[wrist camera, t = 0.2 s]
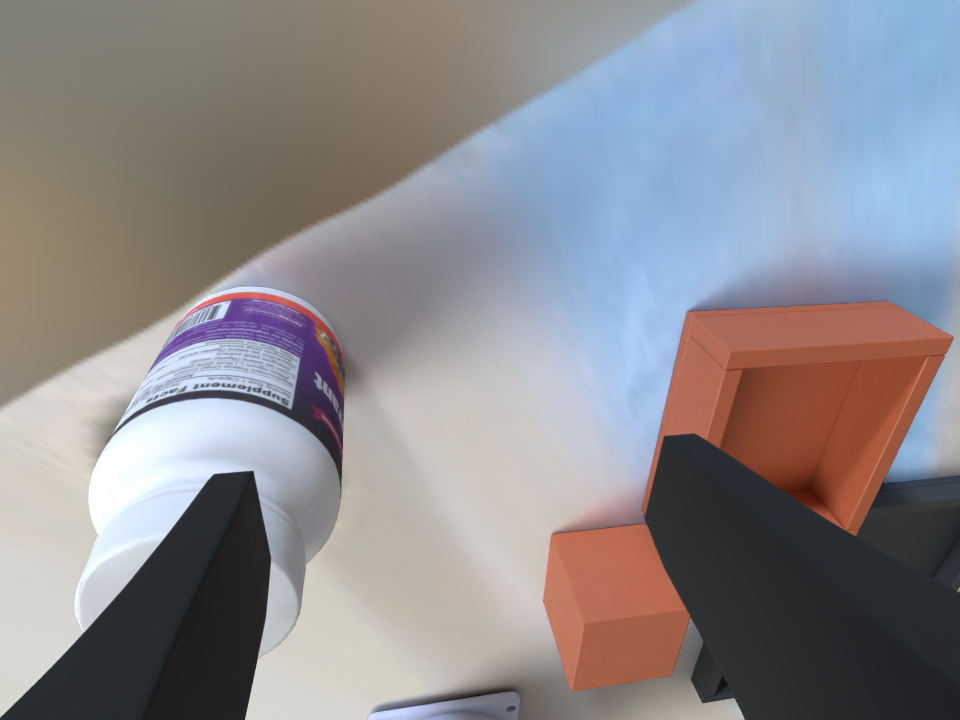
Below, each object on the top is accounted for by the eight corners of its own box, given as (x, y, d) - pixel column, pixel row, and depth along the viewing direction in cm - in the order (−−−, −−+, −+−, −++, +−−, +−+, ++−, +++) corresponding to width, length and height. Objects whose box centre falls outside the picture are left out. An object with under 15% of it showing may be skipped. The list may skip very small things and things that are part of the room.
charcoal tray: (888, 647, 37) (906, 669, 35) (690, 679, 35) (702, 703, 33) (996, 471, 30) (1023, 490, 28) (755, 497, 27) (773, 519, 26)
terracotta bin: (809, 491, 28) (854, 540, 25) (640, 510, 26) (670, 563, 24) (888, 300, 23) (954, 337, 20) (686, 311, 21) (729, 351, 19)
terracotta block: (631, 589, 29) (671, 676, 25) (542, 600, 28) (570, 692, 25) (646, 522, 27) (694, 607, 23) (551, 533, 26) (584, 623, 22)
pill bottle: (338, 428, 21) (326, 691, 13) (175, 419, 20) (47, 705, 12) (354, 291, 19) (349, 510, 11) (168, 269, 18) (-1, 501, 9)
